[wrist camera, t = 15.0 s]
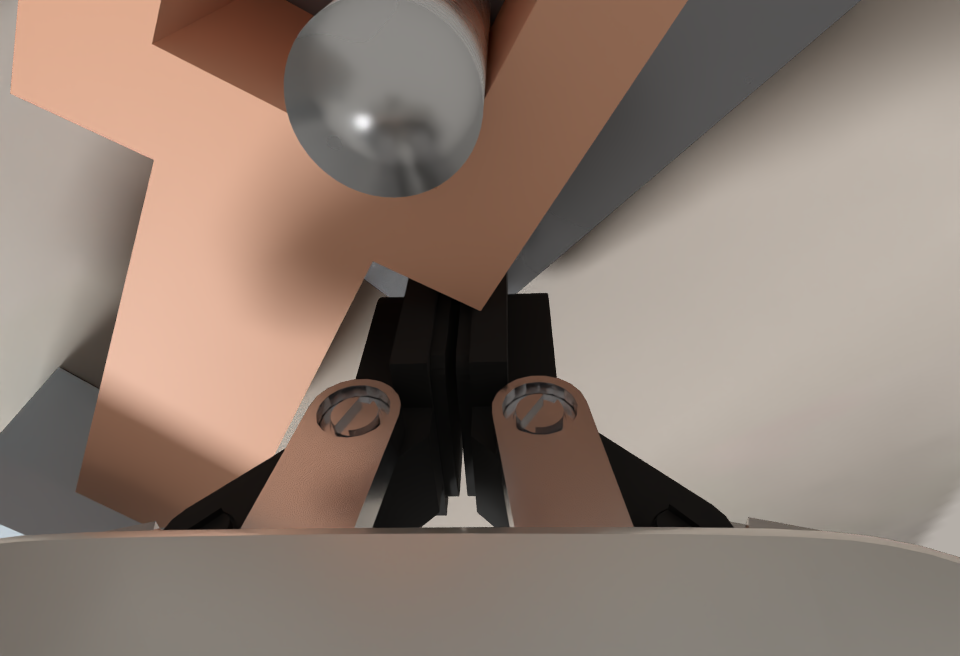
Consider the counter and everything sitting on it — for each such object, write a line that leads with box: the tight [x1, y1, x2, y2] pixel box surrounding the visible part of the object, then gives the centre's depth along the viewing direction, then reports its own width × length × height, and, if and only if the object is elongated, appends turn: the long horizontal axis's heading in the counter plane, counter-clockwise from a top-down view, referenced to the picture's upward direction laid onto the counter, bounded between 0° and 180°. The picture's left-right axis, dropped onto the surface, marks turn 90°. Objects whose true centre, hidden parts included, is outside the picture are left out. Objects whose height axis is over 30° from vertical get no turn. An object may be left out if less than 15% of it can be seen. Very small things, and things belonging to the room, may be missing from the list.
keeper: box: [0, 367, 142, 538], centre depth 14 cm, size 6×6×6 cm
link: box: [10, 0, 688, 528], centre depth 10 cm, size 14×6×4 cm, turn 152°
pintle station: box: [284, 0, 860, 297], centre depth 9 cm, size 10×10×6 cm
